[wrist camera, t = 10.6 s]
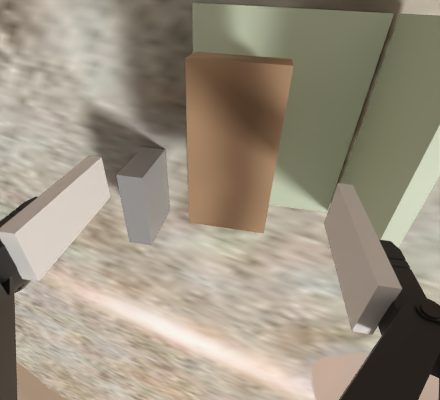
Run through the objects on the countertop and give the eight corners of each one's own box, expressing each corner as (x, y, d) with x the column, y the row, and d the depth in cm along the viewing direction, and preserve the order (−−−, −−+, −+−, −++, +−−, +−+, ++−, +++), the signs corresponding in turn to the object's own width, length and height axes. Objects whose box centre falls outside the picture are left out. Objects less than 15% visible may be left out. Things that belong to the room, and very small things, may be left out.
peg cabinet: (196, 189, 31) (163, 263, 22) (195, 2, 21) (135, -1, 12) (341, 208, 29) (369, 297, 20) (413, 14, 19) (529, 20, 10)
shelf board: (196, 204, 24) (189, 222, 22) (195, 51, 18) (184, 57, 16) (264, 213, 24) (263, 233, 22) (291, 58, 17) (293, 65, 15)
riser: (150, 207, 34) (129, 241, 29) (143, 146, 29) (116, 174, 24) (170, 210, 33) (151, 245, 28) (165, 149, 29) (142, 178, 24)
